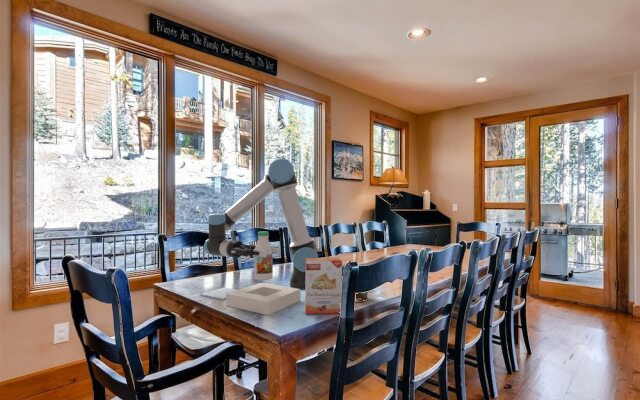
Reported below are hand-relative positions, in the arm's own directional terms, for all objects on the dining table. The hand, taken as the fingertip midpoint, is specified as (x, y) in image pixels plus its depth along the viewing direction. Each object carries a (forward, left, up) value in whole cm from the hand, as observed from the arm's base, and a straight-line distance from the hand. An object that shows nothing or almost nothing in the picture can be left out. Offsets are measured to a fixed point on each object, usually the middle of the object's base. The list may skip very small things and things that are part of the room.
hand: (272, 252), depth 143 cm
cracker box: (-21, +10, -22) cm, 32 cm away
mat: (+23, -18, -22) cm, 37 cm away
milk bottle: (+4, -3, -12) cm, 13 cm away
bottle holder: (+3, -3, -22) cm, 22 cm away
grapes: (-37, -26, -22) cm, 50 cm away
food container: (-40, -6, -22) cm, 46 cm away
